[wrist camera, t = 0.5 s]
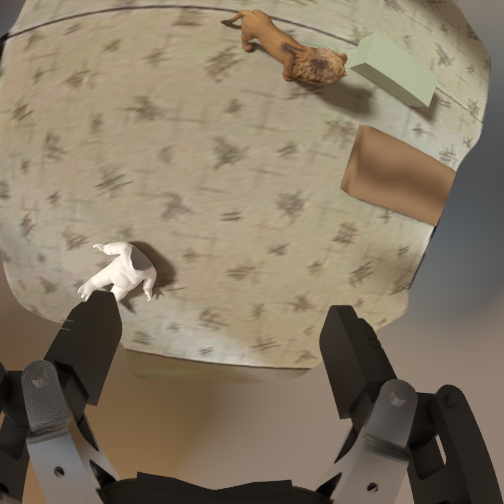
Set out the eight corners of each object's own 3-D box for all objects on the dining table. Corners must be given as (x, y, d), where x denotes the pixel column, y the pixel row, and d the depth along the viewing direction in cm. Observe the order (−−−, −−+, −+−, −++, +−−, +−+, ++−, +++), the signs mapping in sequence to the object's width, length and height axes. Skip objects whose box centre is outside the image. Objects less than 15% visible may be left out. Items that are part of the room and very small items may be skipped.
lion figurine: (333, 69, 27) (364, 57, 19) (311, 99, 29) (336, 95, 21) (232, 9, 23) (231, -22, 15) (208, 39, 25) (198, 15, 17)
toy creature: (63, 282, 34) (92, 246, 29) (83, 258, 39) (116, 220, 34) (119, 332, 39) (161, 310, 34) (134, 305, 44) (175, 280, 39)
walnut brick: (358, 124, 31) (371, 127, 27) (440, 165, 34) (456, 171, 30) (338, 187, 35) (349, 195, 31) (421, 216, 38) (435, 226, 34)
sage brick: (360, 39, 25) (377, 31, 21) (417, 78, 27) (438, 77, 23) (348, 68, 27) (365, 62, 23) (407, 105, 29) (428, 107, 25)
